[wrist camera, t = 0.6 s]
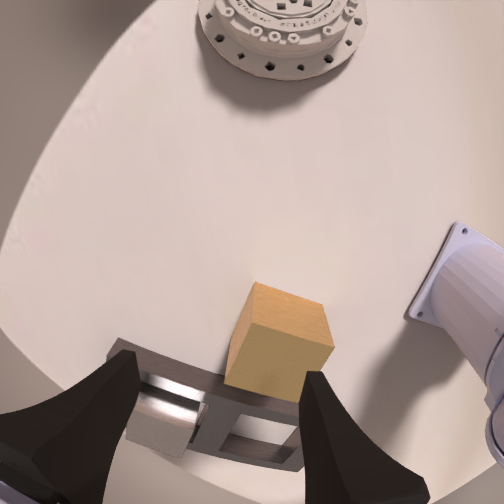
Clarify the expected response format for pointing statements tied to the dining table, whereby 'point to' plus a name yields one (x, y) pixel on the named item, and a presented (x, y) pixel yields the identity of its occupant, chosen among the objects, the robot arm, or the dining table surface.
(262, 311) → the brushed gold cube
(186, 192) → the dining table surface
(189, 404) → the silver gray cube
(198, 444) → the grey tray
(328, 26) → the mechanical component
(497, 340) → the robot arm
